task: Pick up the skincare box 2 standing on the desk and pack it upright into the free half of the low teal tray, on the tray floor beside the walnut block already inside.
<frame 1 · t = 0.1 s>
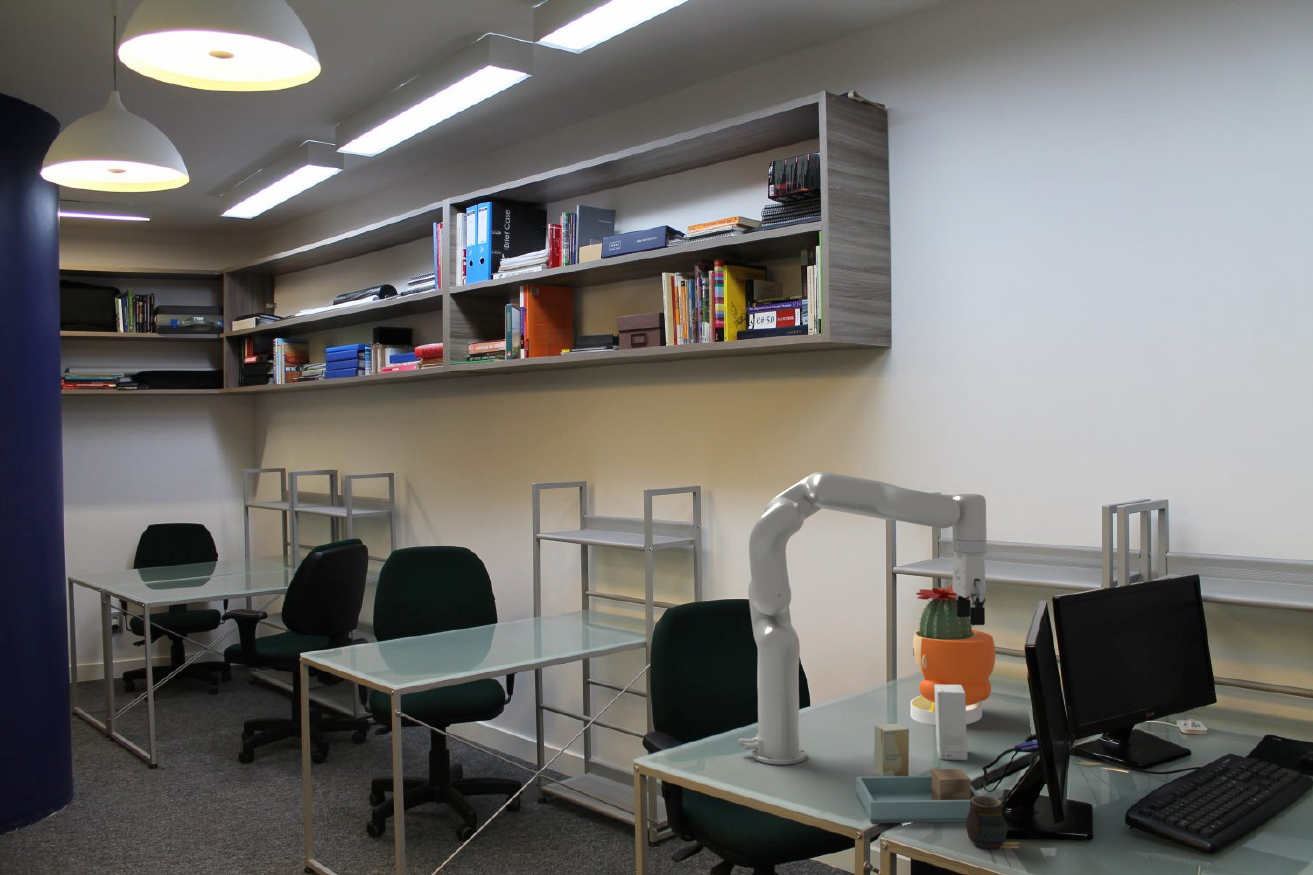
hand: (970, 620, 225), 31 cm above the table, tool pointing down, fingers open, 9 cm apart
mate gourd: (987, 845, 177), on the table
walnut block: (951, 803, 194), point 1 cm above the table, touching teal tray
skincare box: (950, 755, 226), on the table
potted cactus: (954, 717, 256), on the table
skincare box 2: (891, 784, 208), on the table
teal tray: (918, 808, 194), on the table
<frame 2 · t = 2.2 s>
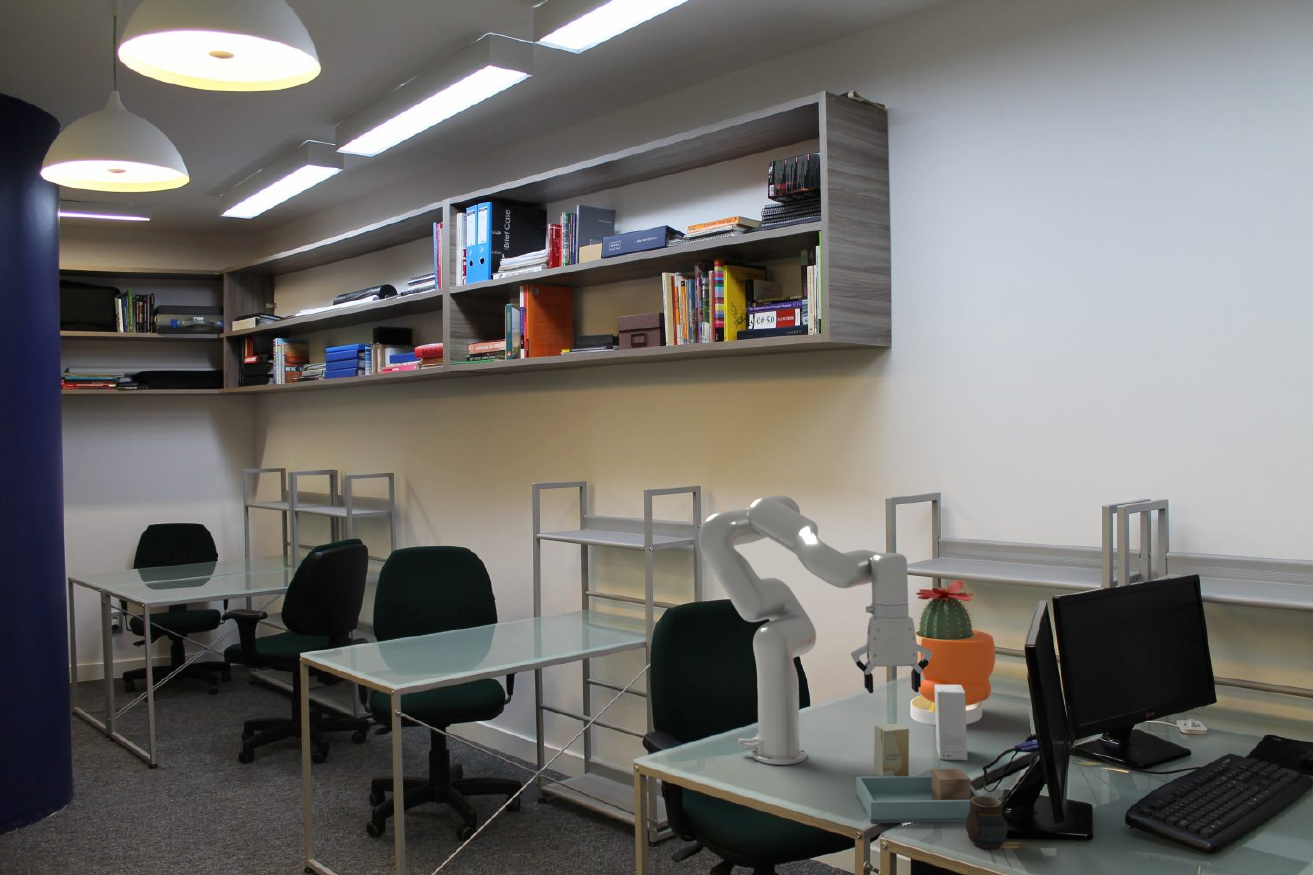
hand: (892, 691, 207), 20 cm above the table, tool pointing down, fingers open, 9 cm apart
nothing on the table moved.
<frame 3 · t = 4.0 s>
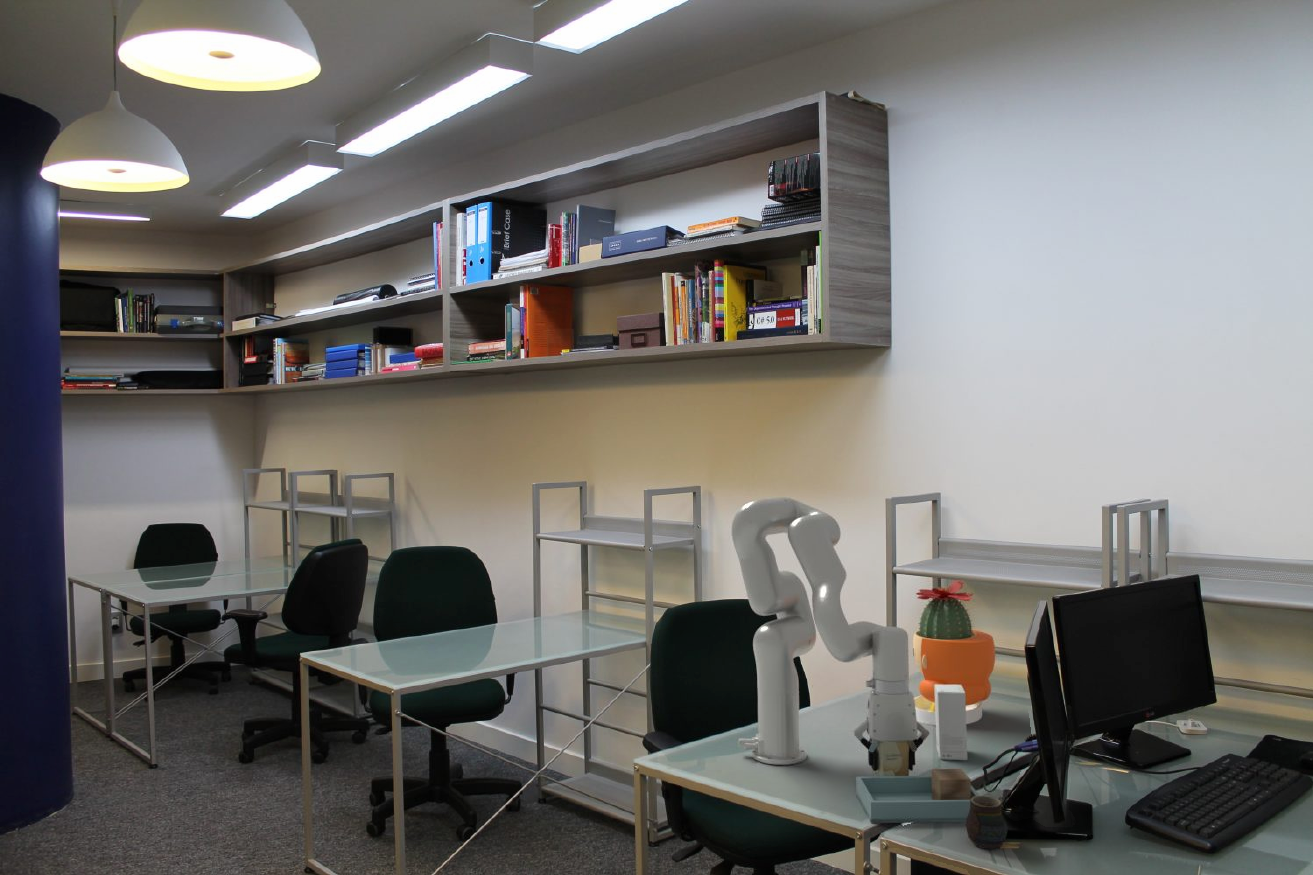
hand: (891, 767, 208), 3 cm above the table, tool pointing down, fingers closed on skincare box 2, 7 cm apart
skincare box 2: (892, 784, 208), on the table, touching gripper
everything else where it was.
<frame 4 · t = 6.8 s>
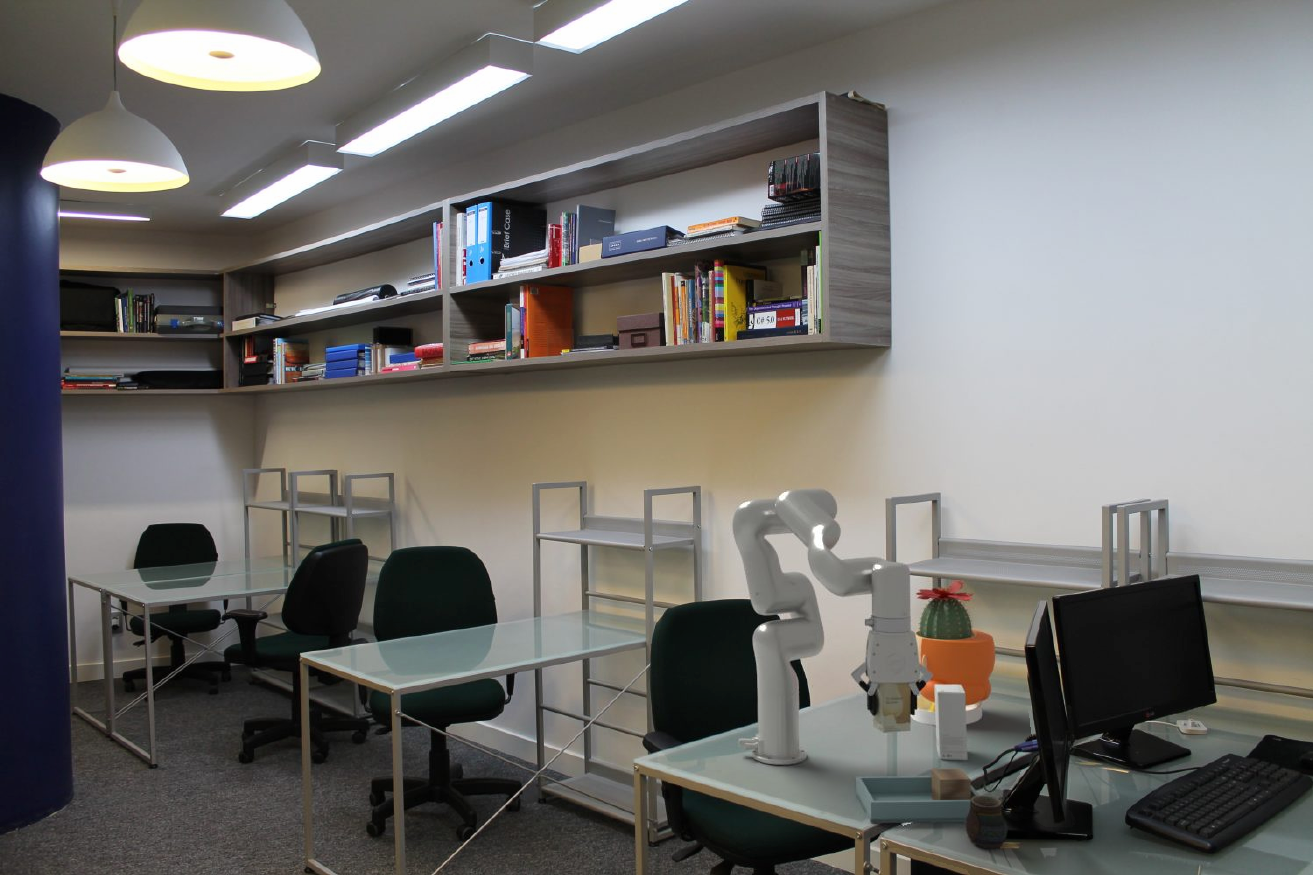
hand: (892, 712, 194), 19 cm above the table, tool pointing down, fingers closed on skincare box 2, 7 cm apart
skincare box 2: (892, 730, 194), point 16 cm above the table, touching gripper
everything else where it was.
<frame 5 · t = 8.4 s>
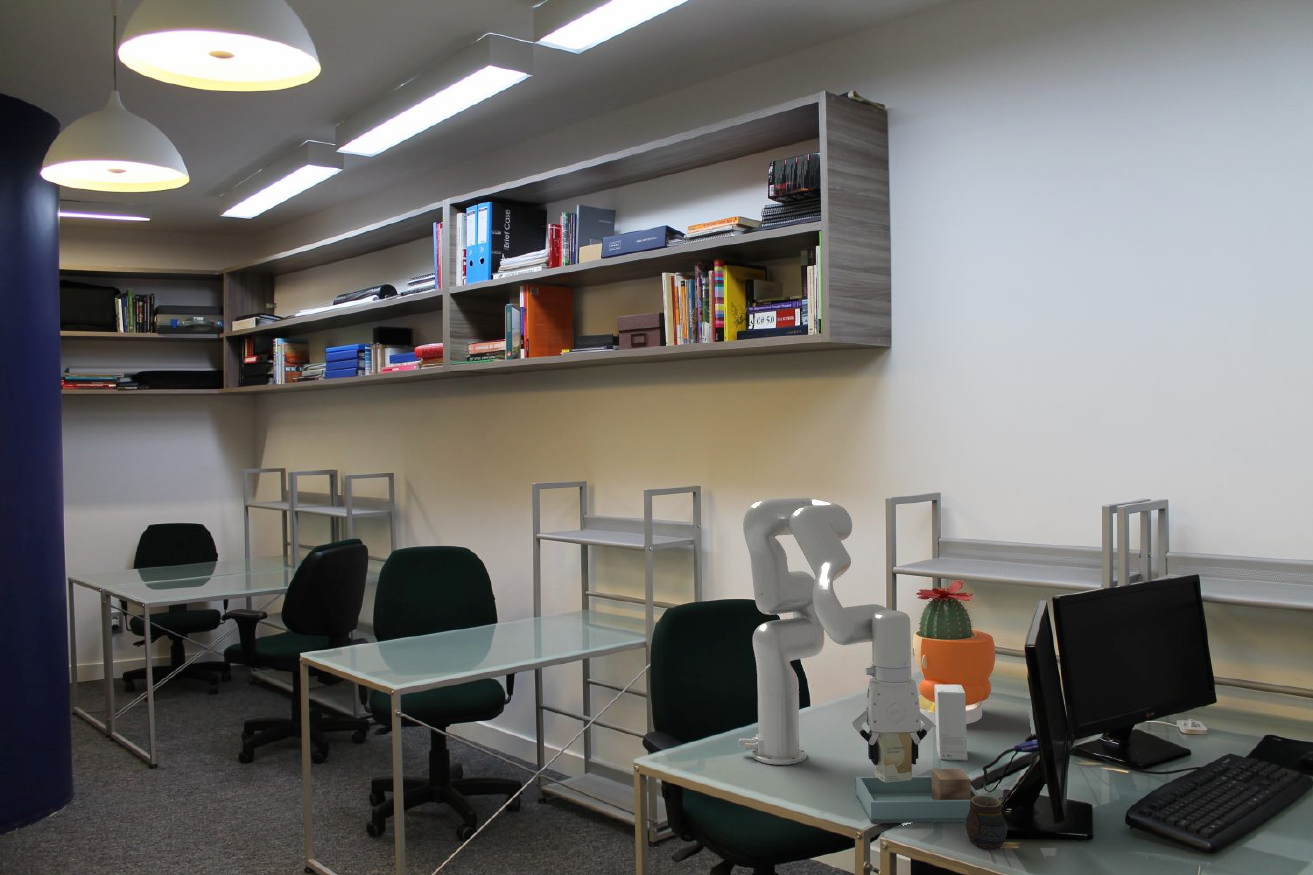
hand: (893, 761, 194), 9 cm above the table, tool pointing down, fingers closed on skincare box 2, 7 cm apart
skincare box 2: (893, 779, 194), point 6 cm above the table, touching gripper
everything else where it was.
when the fingers open (5 cm above the table, at t = 9.9 s): skincare box 2 stays where it is, resting on teal tray.
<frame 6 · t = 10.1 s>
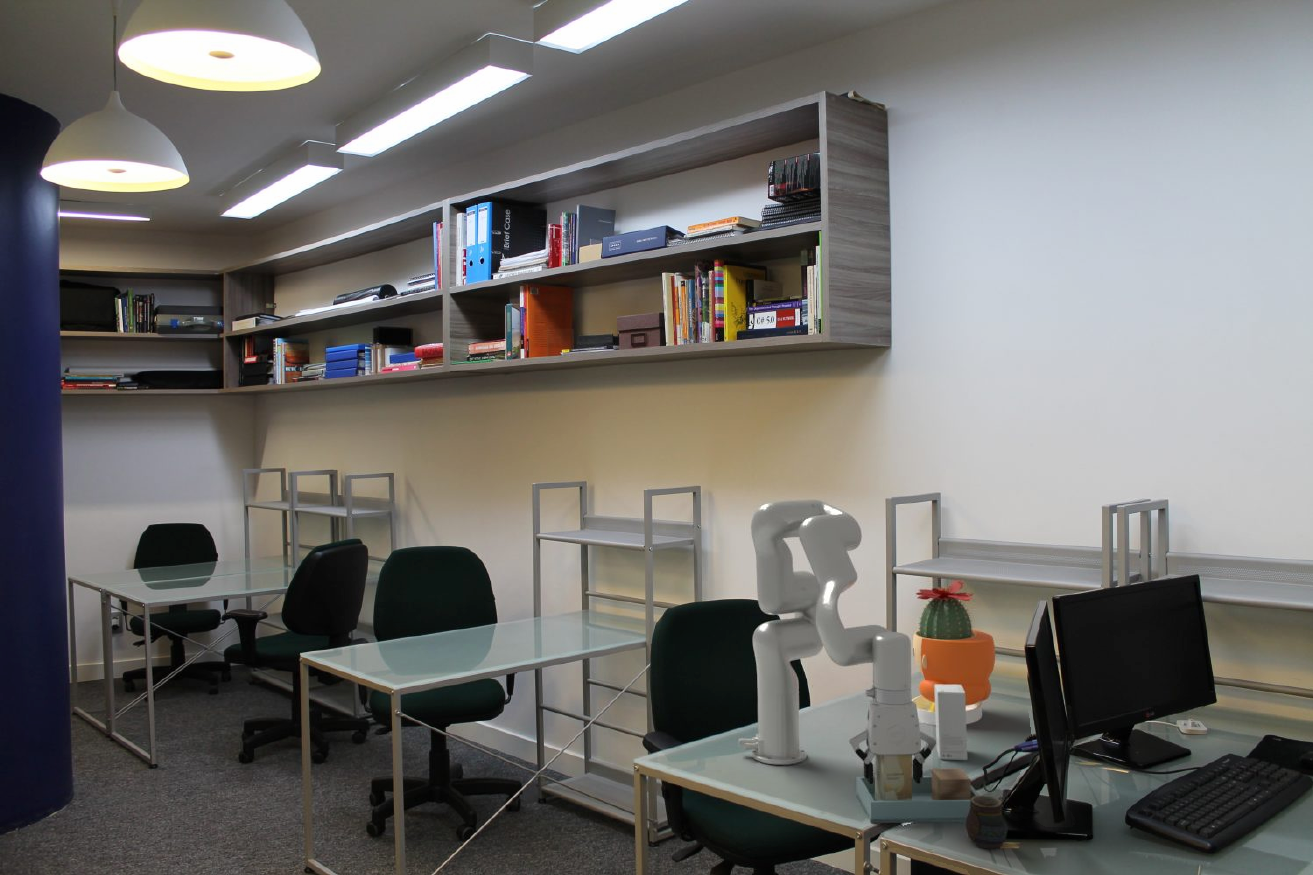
hand: (893, 781, 194), 5 cm above the table, tool pointing down, fingers open, 9 cm apart
skincare box 2: (894, 805, 194), point 1 cm above the table, touching teal tray
everything else where it was.
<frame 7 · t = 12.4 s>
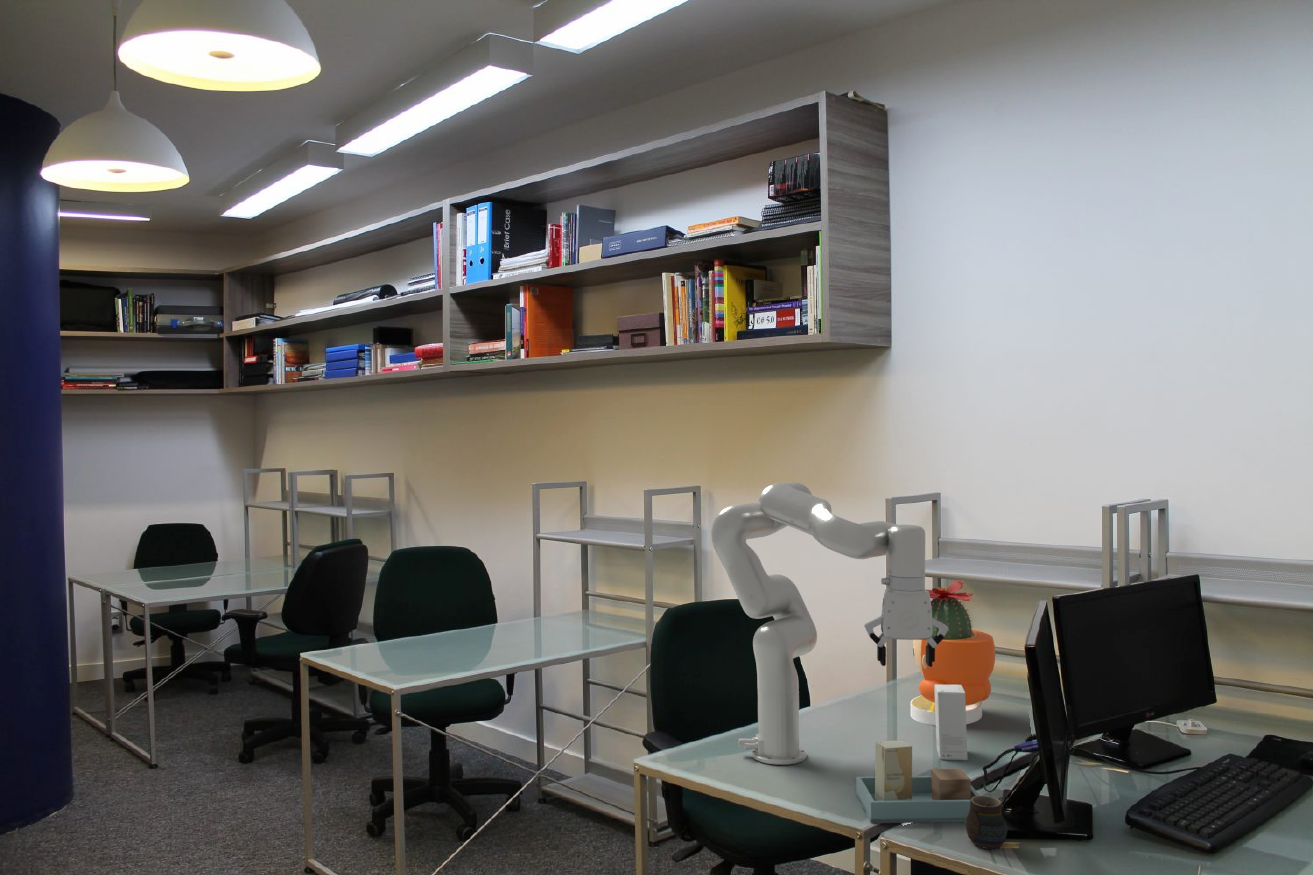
hand: (905, 664, 204), 26 cm above the table, tool pointing down, fingers open, 9 cm apart
nothing on the table moved.
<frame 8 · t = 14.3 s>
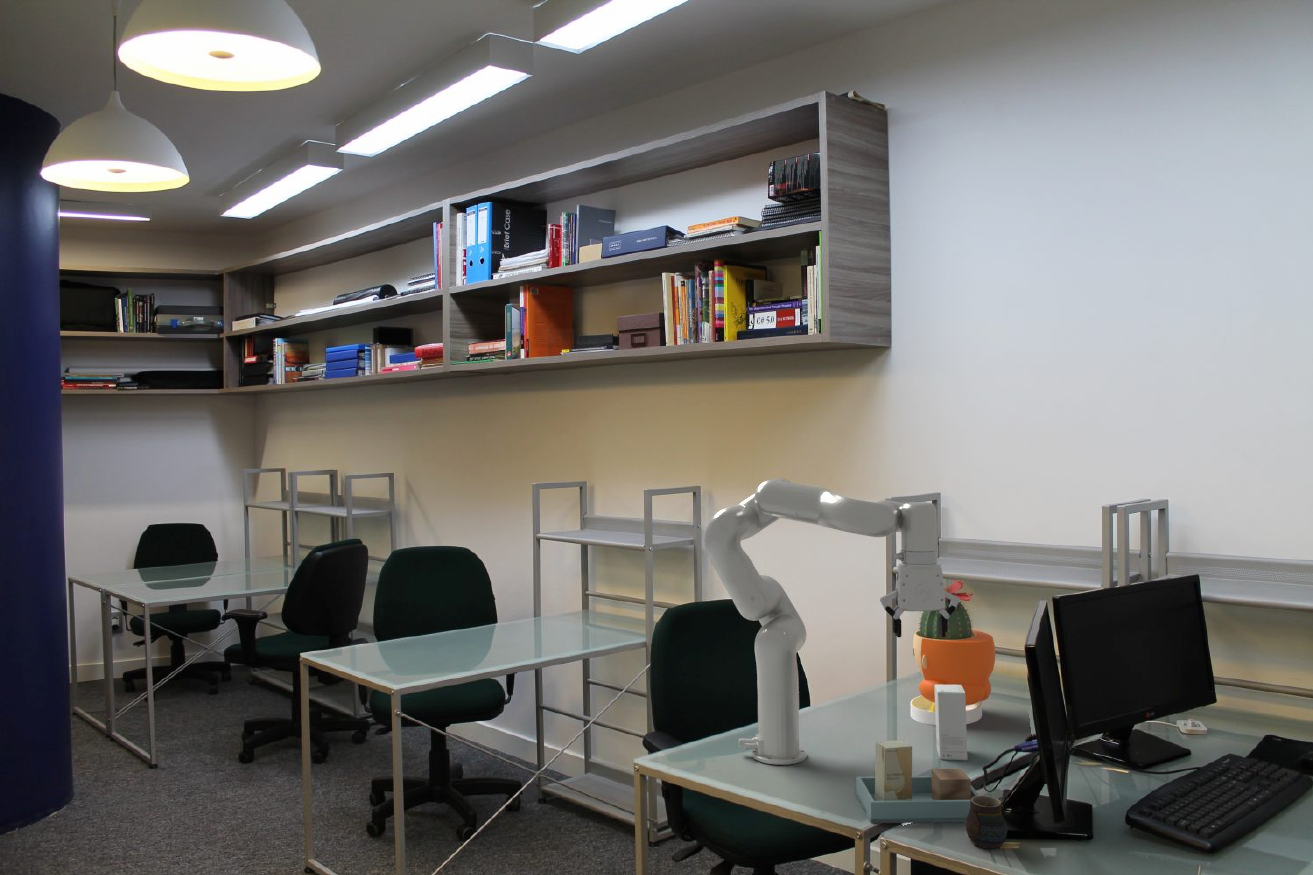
hand: (920, 635, 214), 30 cm above the table, tool pointing down, fingers open, 9 cm apart
nothing on the table moved.
at the end: skincare box 2 inside the target area on the teal tray (0.4 cm from its centre), point 0.6 cm above the teal tray's base; skincare box 2 tilted 0°; walnut block moved 0.1 cm from its start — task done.
